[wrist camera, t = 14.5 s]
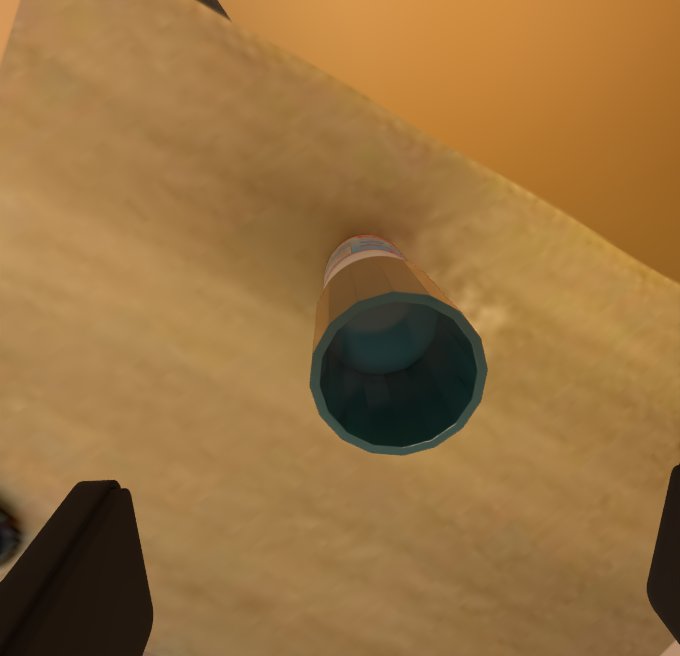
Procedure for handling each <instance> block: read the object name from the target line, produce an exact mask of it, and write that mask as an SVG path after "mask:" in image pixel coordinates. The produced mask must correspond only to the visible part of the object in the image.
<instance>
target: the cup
mask: <svg viewBox="0 0 680 656" xmlns="http://www.w3.org/2000/svg"><path fill="white" fill-rule="evenodd" d="M487 369H488V368H487V363H486V359H485V354H484V350H483V345H482V341H481V338H480V336H479V335H478V334H477V332H476V331H475V330H474V328H473V327H472V326H471V324H470V323H469V322H468V320H467V319H466V318H465V317H464V315H463V314H462V313H461V311H460V310H459V309H458V308H457V307H456V306H455V305H454V304H453V303H452V302H451V300H450V299H449V298H448V297H447V296H446V295H445V294H444V293H443V292H442V291H441V289H440V288H439V287H438V286H437V285H436V284H435V283H434V282H433V281H432V279H431V278H430V277H429V276H428V275H427V274H426V273H425V272H424V271H422V270H420V269H419V268H418V267H416V266H415V265H413V264H411V263H409V262H407V261H405V260H402V259H399V258H395V257H389V256H373V257H367V258H363V259H360V260H357V261H354V262H352V263H350V264H349V265H347V266H345V267H344V268H342V269H341V270H339V271H338V272H337V273H336V274H335V275H334V276H333V277H332V278H331V279H330V281H329V282H328V283H327V285H326V286H325V288H324V290H323V292H322V294H321V296H320V299H319V301H318V304H317V310H316V321H315V332H314V342H313V353H312V364H311V374H310V389H311V392H312V395H313V398H314V401H315V404H316V407H317V410H318V412H319V415H320V417H321V418H322V419H323V420H324V421H325V422H326V423H327V424H328V425H329V427H330V428H331V429H332V430H333V431H334V432H335V433H336V434H337V435H338V436H339V437H340V438H341V439H342V440H344V441H346V442H348V443H350V444H352V445H355V446H357V447H359V448H361V449H363V450H365V451H367V452H371V453H377V454H389V455H408V454H411V453H415V452H419V451H423V450H426V449H430V448H434V447H436V446H438V445H439V444H441V443H442V442H443V441H445V440H446V439H448V438H449V437H451V436H452V435H454V434H455V433H456V432H458V431H459V430H461V429H462V428H463V427H464V425H465V424H466V423H467V421H468V420H469V418H470V417H471V415H472V414H473V412H474V411H475V409H476V408H477V407H478V405H479V404H480V402H481V399H482V395H483V390H484V385H485V380H486V376H487V371H488V370H487Z"/></svg>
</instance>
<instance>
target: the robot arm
mask: <svg viewBox="0 0 680 656" xmlns="http://www.w3.org/2000/svg"><path fill="white" fill-rule="evenodd" d="M647 594H648V598H649V601H650V603H651V606H652V607H653V609H654V610H655V612H656V613H657V614H658V616H659V617H660V619H661V620H662V621H663V623H664V624H665V625H666V627H667V628H668V629H669V631H670V632H671V633H672V635H673V636H674V638H675V639H676V640H677V642H678V643H679V644H680V464H679V465H677V466H675V467H674V468H673V470H672V473H671V477H670V481H669V486H668V490H667V495H666V500H665V504H664V509H663V513H662V518H661V522H660V527H659V532H658V536H657V541H656V545H655V550H654V554H653V559H652V563H651V568H650V573H649V577H648V582H647ZM152 624H153V606H152V601H151V596H150V591H149V585H148V580H147V575H146V570H145V565H144V560H143V554H142V549H141V544H140V539H139V534H138V528H137V523H136V518H135V513H134V508H133V503H132V497H131V494H130V491H129V490H128V489H126V488H122V489H121V487H120V485H119V483H118V482H117V481H115V480H101V481H82V482H79V483H77V484H76V485H75V486H74V488H73V489H72V490H71V491H70V493H69V494H68V495H67V497H66V498H65V499H64V501H63V502H62V503H61V505H60V506H59V507H58V508H57V510H56V511H55V512H54V514H53V515H52V516H51V518H50V519H49V520H48V522H47V523H46V524H45V525H44V527H43V528H42V529H41V531H40V532H39V533H38V535H37V536H36V537H35V539H34V540H33V541H32V542H31V544H30V545H29V546H28V548H27V549H26V550H25V552H24V553H23V554H22V556H21V557H20V558H19V560H18V561H17V562H16V563H15V565H14V566H13V567H12V569H11V570H10V571H9V573H8V574H7V575H6V577H5V578H4V579H3V580H2V581H1V582H0V656H142V655H143V652H144V649H145V647H146V644H147V641H148V638H149V636H150V632H151V629H152Z"/></svg>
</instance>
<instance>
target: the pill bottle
mask: <svg viewBox="0 0 680 656" xmlns="http://www.w3.org/2000/svg"><path fill="white" fill-rule="evenodd" d="M373 256H389V257H395V258H399V259H402V260H405V258H404V257H403V256H402V254H401V253H400V252H399V251H398V249H397V248H396V247H395V246H394V245H393V244H391V243H390V242H389V241H387V240H385V239H383V238H381V237H378V236H374V235H359V236H355V237H352V238H349V239H348V240H346V241H344V242H343V243H342V244H340V245H339V246H338V247H337V248H336V250H335V251H334V252H333V253H332V255H331V257H330V259H329V261H328V263H327V266H326V270H325V278H324V288H325V286H326V285H327V283H328V282H329V281H330V279H331V278H332V277H333V276H334V275H335V274H336V273H337V272H338V271H339V270H341V269H342V268H344V267H345V266H347V265H349V264H350V263H352V262H354V261H357V260H360V259H363V258H367V257H373ZM405 261H406V260H405ZM323 290H324V289H323Z"/></svg>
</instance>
